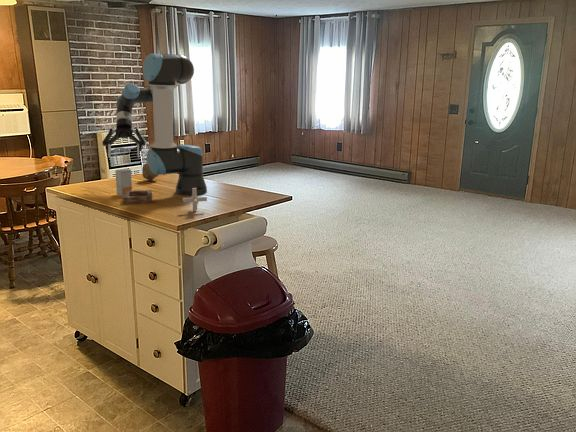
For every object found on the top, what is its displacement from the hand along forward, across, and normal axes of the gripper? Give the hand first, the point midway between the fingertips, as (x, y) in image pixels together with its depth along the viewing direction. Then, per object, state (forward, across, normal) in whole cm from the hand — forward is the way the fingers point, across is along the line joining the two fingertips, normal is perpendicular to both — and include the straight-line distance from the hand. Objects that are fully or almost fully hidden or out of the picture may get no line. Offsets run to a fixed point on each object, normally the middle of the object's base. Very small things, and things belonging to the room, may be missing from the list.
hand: (123, 156), depth 246 cm
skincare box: (+20, 0, -4) cm, 20 cm away
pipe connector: (+45, -31, +21) cm, 59 cm away
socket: (+28, -7, +5) cm, 29 cm away
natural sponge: (-3, -12, -27) cm, 29 cm away
